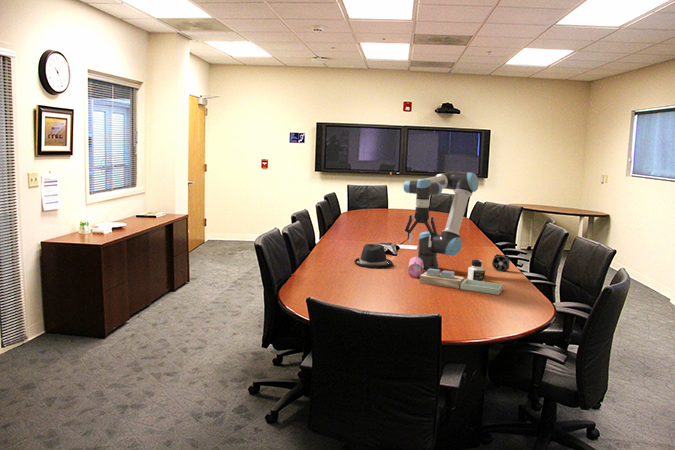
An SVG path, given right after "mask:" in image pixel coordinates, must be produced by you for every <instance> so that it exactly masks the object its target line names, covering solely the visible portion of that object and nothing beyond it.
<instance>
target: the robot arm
mask: <svg viewBox="0 0 675 450" xmlns="http://www.w3.org/2000/svg"><path fill="white" fill-rule="evenodd" d="M444 189H445V190H452V191H453V193H454V196H453V200H452V203H451V206H450V209H449V214H448V216H447V221H446V224H445V228H444V229H443V230H442V231H441V234H439V231H437V228H436V227H437V226H436V223H435V217H434V216H430V201H431V199H430V198H431V196H432V197H433V196H435V197H436V196H439V195H440V194H441V193H442V192H443V190H444ZM478 189H479V178H478V176H477V175H476V173H474V172H469V171H468V172H467V171H466V172H465V171H448V172H444V173H443V172H442V173H439V174H436V175H435V176H431V177H427V178H419V179H417V180H416V179H415V180H405V181H404V184H403V191H404V193H406V194H412V195H413V194H414V195H415V194H416V198H415V209H414V210H415V212H414V215H413V214H409V217H408V218H409V219H408V221H407V224H406V227H405V229H404V231H405V232H407V239H408V245H412V242H413V232H412V231H413V230H414V229H415V227H416V226H417V225H418V224H423V225H425V227H426V229H427V231H423V232H420V233H419V237H418V246H417V247H418V248H417V249H418V251H417V256H416V257H419V258H421V259H422V260H423V264H424V268H423V271H427V270H428V269H430V268H432V269H439V270H440V268H439V267H440V265H439V260H438V258H437V257H438V256H437V255H438V254H441V255H445V256H452V257H454V256H457V255H458V254H459V253H460V251H461V249H462V248H463V247H462V246H463V240H462V238H461V235H460V228H461V227H462V222H463V220H464V219H463V218H464V215H465V211H466V208H467V205H468V200H469V198H470V197H472V195H473V193H475V192H477V190H478ZM414 219H415V221H414V222H413V220H414ZM429 221H430V224H429ZM412 222H413V224H412ZM411 224H412V225H411ZM430 225H431V226H430ZM410 226H411V227H410Z"/></svg>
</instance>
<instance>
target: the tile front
mask: <svg viewBox="0 0 675 450" xmlns="http://www.w3.org/2000/svg"><path fill="white" fill-rule="evenodd" d="M440 274H441V278H447V279H452V278H453V277H454V276H455V271H452V270H442V271H440Z"/></svg>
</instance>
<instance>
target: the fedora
mask: <svg viewBox="0 0 675 450" xmlns="http://www.w3.org/2000/svg"><path fill="white" fill-rule="evenodd" d="M362 248H363V249H362V251H361V255H360V257H358V258H355V259H354V261H353V262H354V263H355V264H356V265H358V266H361V267H363V268H371V269H376V268H378V269H380V267H381V268H386V267H389V266H392V264H394V263H393V260H392V259H388V258H387V255H386V251H385V247H384V246H383V245H382V244H374V243H373V244H372V243H365V245H364V246H363V247H362ZM357 261H359V263H357ZM387 262H388V263H389V264H388V263H387Z"/></svg>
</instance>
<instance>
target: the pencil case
mask: <svg viewBox="0 0 675 450" xmlns="http://www.w3.org/2000/svg"><path fill="white" fill-rule="evenodd" d="M408 262H409V263H408V268H407V272H408V275H409V276H410V277H411V278H414V277H415V278H420V275H422V274H423V273H424V270H423V268H424V264H423V260H422V259H421V258H419V257H417V256H413V257H411V258H410V259H409V261H408Z"/></svg>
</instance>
